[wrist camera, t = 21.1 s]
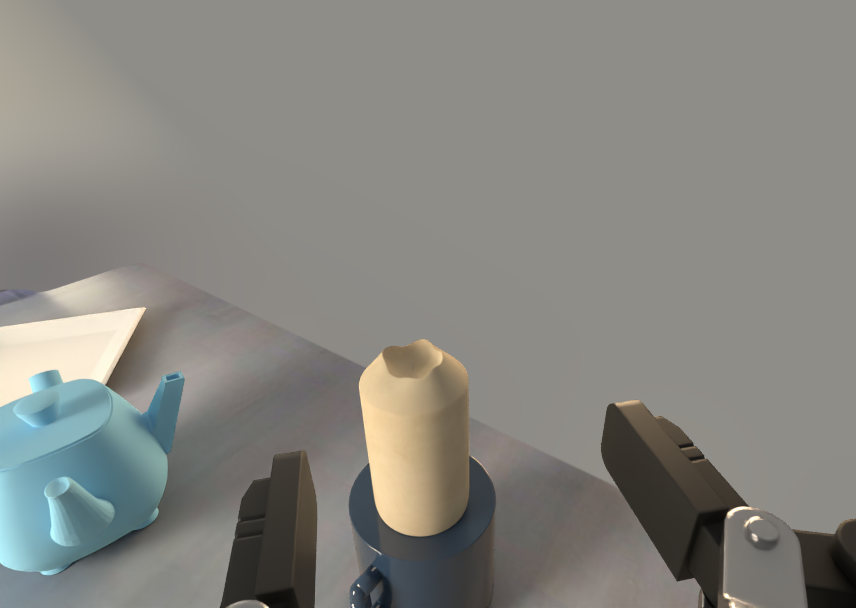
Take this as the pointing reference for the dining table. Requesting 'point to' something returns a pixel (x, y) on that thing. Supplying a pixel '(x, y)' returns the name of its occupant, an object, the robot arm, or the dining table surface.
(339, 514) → the dining table surface
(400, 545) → the mug
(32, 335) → the plate
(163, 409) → the teapot
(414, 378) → the candle
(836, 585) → the robot arm
